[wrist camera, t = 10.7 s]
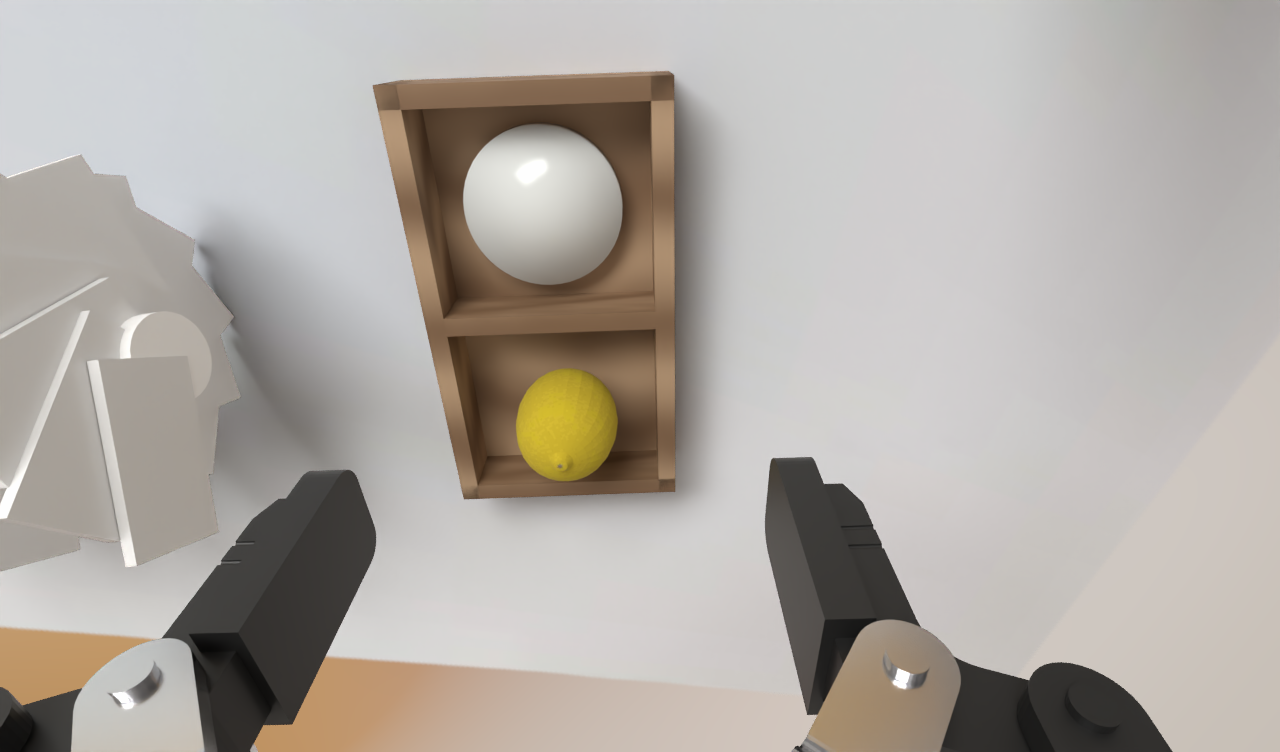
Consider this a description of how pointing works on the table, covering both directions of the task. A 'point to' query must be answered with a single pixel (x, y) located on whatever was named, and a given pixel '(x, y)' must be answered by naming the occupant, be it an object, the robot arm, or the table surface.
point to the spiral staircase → (103, 371)
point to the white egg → (543, 203)
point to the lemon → (566, 424)
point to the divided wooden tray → (533, 313)
